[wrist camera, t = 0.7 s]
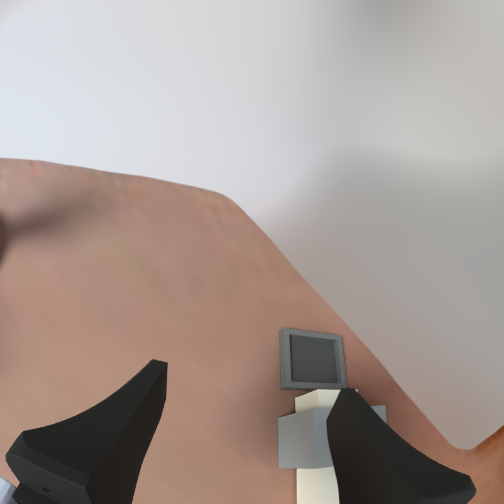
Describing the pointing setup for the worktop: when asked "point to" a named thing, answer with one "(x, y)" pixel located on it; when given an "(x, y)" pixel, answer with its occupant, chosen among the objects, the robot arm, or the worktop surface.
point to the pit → (311, 360)
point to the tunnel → (308, 438)
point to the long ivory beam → (321, 479)
